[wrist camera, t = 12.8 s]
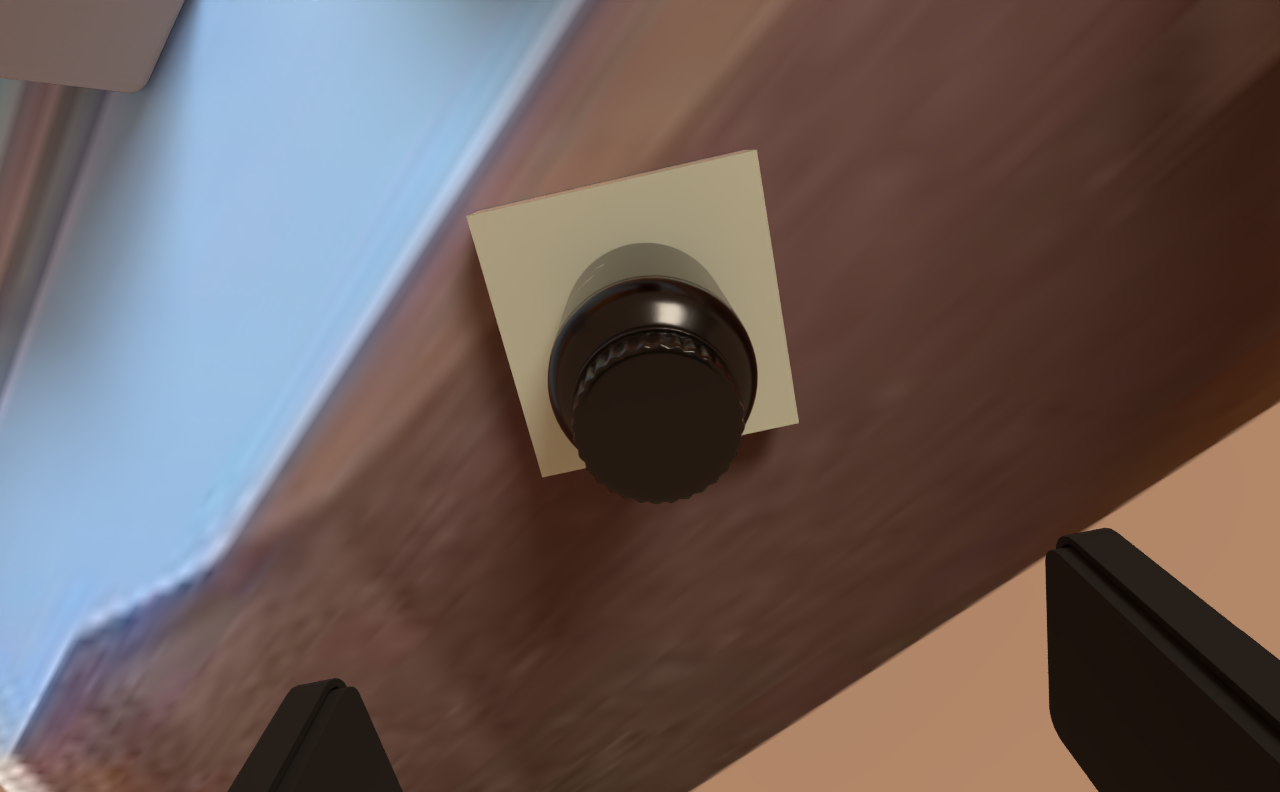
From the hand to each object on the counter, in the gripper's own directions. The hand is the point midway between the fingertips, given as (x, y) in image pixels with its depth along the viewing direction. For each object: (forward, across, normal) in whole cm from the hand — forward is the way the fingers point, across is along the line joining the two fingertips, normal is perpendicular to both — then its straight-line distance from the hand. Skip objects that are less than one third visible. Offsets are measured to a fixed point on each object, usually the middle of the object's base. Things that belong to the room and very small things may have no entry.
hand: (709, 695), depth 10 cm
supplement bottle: (+22, 0, 0) cm, 22 cm away
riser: (+25, 0, 0) cm, 25 cm away
